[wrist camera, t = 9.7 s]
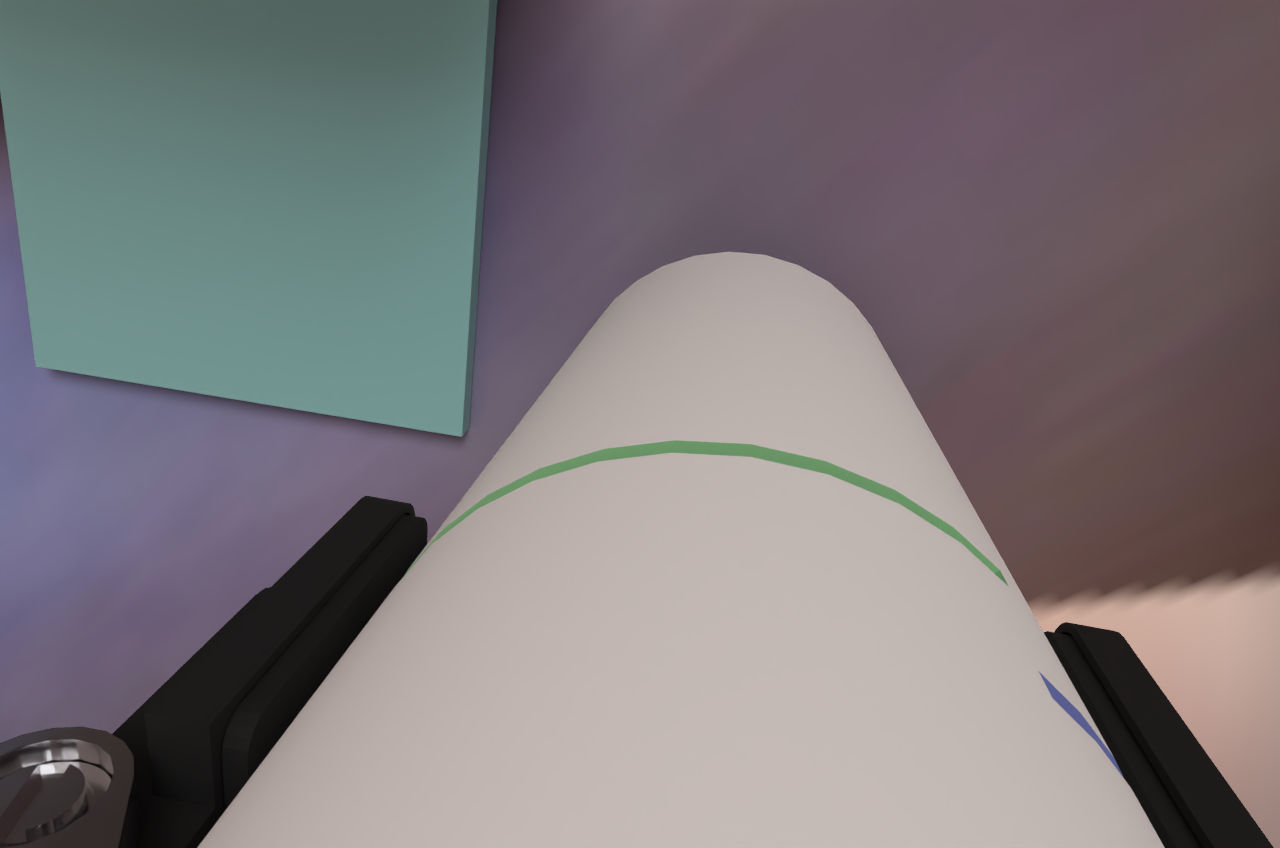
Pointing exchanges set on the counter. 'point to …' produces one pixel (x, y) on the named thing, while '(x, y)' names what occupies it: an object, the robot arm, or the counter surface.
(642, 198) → the counter surface
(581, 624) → the cylindrical container
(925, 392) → the counter surface
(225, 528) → the counter surface
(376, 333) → the teal pad
